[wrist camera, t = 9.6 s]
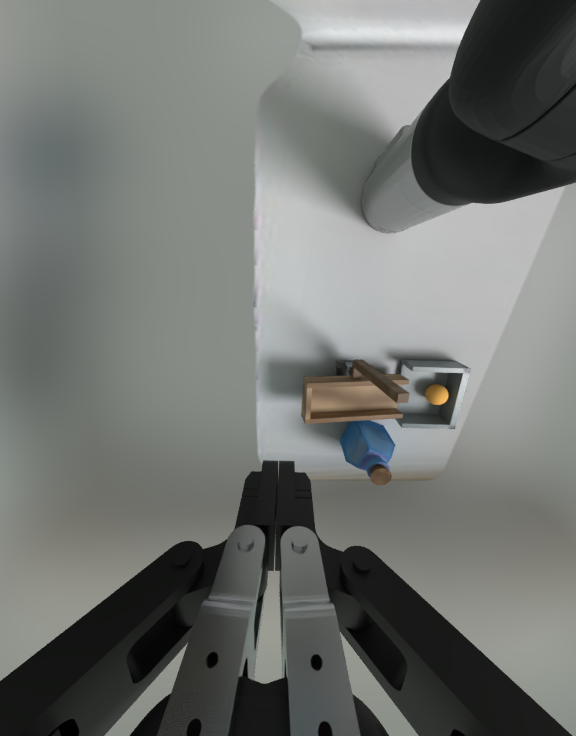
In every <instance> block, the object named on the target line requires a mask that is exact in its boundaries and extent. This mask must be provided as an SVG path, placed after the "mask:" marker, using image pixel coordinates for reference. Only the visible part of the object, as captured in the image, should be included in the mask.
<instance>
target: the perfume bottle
mask: <svg viewBox="0 0 576 736" xmlns="http://www.w3.org/2000/svg"><path fill="white" fill-rule="evenodd" d="M340 443H341V446H342V449H343V452H344V456H345V459H346V462H348V463H350V464H352V465H354V466H355V467H357V468H359V469H362V470H365V471H367V473H368V476H369V477H370V478H371V481H372V482H373V483H374V484H376V485H385V484H387V483H388V482H389V481H390V480H391V477H392V475H391V472H390V469H389V466H388V464H387V463H388V462H389V460H390V459H391V457H392V454H393V450H394V447H395V444H394V442H393V441H392V439H391V437H390V436H389V434H388V432H387V431H386V429H385V428H384V426H383V425H380V424H377V423H375V422H372V421H369V420H362V421H351V422H350V423H349V425H348V427H347V429H346V431H345V433H344V434H343V436H342V438H341V440H340Z"/></svg>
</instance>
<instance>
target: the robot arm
mask: <svg viewBox="0 0 576 736" xmlns="http://www.w3.org/2000/svg"><path fill="white" fill-rule="evenodd" d="M575 182H576V0H480V2H479V4H478V6H477V8H476V10H475V12H474V14H473V16H472V18H471V20H470V23H469V25H468V27H467V29H466V31H465V33H464V36H463V38H462V40H461V43H460V46H459V48H458V51H457V54H456V57H455V61H454V64H453V68H452V71H451V76H450V78H449V79H448V80H447V81H446V82H445V83H444V84H443V86H442V87H441V88H440V89H439V90H438V91H437V93H436V94H435V95H434V96H433V98H432V99H431V100H430V101H429V103H428V104H427V105H426V106H425V108H424V109H423V110H422V111H421V113H420V114H419V115H418V116H417V118H416V119H415V120H414V121H413V123H412V124H411V125H406V126H403V127H402V128H401V129H400V130H399V132H398V133H397V134H396V136H395V137H394V138H393V139H392V141H391V142H390V143H389V145H388V146H387V147H386V149H385V150H384V151H383V153H382V154H381V155H380V157H379V158H378V159H377V161H376V164H375V169H374V171H373V172H372V174H371V175H370V176H369V178H368V179H367V181H366V183H365V185H364V188H363V192H362V198H361V205H362V211H363V215H364V217H365V219H366V221H367V222H368V223H369V224H370V226H371V227H373V228H374V229H376V230H377V231H380V232H383V233H396V232H399V231H403V230H405V229H408V228H410V227H412V226H415V225H417V224H420V223H422V222H425V221H427V220H430V219H432V218H435V217H437V216H440V215H442V214H445V213H447V212H450V211H452V210H455V209H457V208H460V207H462V206H465V205H467V204H470V203H483V204H493V203H501V202H506V201H510V200H514V199H517V198H521V197H525V196H529V195H532V194H536V193H540V192H543V191H547V190H551V189H554V188H558V187H562V186H565V185H569V184H572V183H575ZM275 534H276V551H274V550H275ZM274 552H276V553H275V555H276V556H275V557H276V558H275V570H276V571H280V592H279V593H280V594H279V597H280V621H281V622H280V625H281V654H282V679H279V680H276V681H273V682H270V683H268V684H262V683H259V682H256V681H254V678H255V664H256V655H257V648H258V641H259V634H260V627H261V620H262V613H263V607H264V599H265V590H266V587H267V578H268V571H273V570H274ZM340 632H341V633H342V635H343V636H344V637H345V639H346V640H347V641H348V643H349V644H350V645H351V647H352V648H353V649H354V651H355V652H356V653H357V655H358V656H359V657H360V659H361V660H362V661H363V663H364V664H365V665H366V666H367V668H368V669H369V670H370V672H371V673H372V674H373V676H374V677H375V678H376V680H377V681H378V682H379V683H380V685H381V686H382V688H383V689H384V690H385V691H386V693H387V694H388V695H389V697H390V698H391V699H392V701H393V702H394V703H395V705H396V706H397V707H398V709H399V710H400V711H401V713H402V714H403V715H404V717H405V718H406V719H407V721H408V722H409V723H410V725H411V726H412V727H413V728H414V730H415V731H416V732H417V734H418V735H419V736H572V735H571V734H570V733H569V732H568V731H566V730H565V729H564V728H563V727H562V726H561V725H560V724H559V723H558V722H557V721H556V720H555V719H553V718H552V717H551V716H550V715H549V714H548V713H547V712H546V711H545V710H544V709H543V708H542V707H540V706H539V705H538V704H537V703H536V702H535V701H534V700H533V699H532V698H531V697H530V696H529V695H527V694H526V693H525V692H524V691H523V690H522V689H521V688H520V687H519V686H518V685H516V684H515V683H514V682H513V681H512V680H511V679H510V678H509V677H508V676H507V675H506V674H505V673H503V672H502V671H501V670H500V669H499V668H498V667H497V666H496V665H495V664H494V663H493V662H492V661H490V660H489V659H488V658H487V657H486V656H485V655H484V654H483V653H482V652H481V651H480V650H478V649H477V648H476V647H475V646H474V645H473V644H472V643H471V642H470V641H469V640H468V639H467V638H466V637H464V636H463V635H462V634H461V633H460V632H459V631H458V630H457V629H456V628H455V627H454V626H452V625H451V624H450V623H449V622H448V621H447V620H446V619H445V618H444V617H443V616H442V615H441V614H439V613H438V612H437V611H436V610H435V609H434V608H433V607H432V606H431V605H430V604H428V602H426V601H425V600H424V599H423V598H422V597H421V596H420V595H419V594H418V593H417V592H416V591H415V590H413V589H412V588H411V587H410V586H409V585H408V584H407V583H406V582H405V581H403V579H402V578H400V577H399V576H398V575H397V574H396V573H395V572H394V571H393V570H392V569H390V568H389V567H388V566H387V565H386V564H385V563H384V562H383V561H382V560H381V559H380V558H379V557H378V556H377V555H375V554H374V553H373V552H372V551H370V550H369V549H367V548H365V547H361V546H351V547H349V548H347V549H346V550H345V551H344V552H342V551H339V550H336V549H333V548H331V547H329V546H327V545H325V544H324V543H323V542H322V541H321V540H320V539H319V537H318V535H317V534H316V530H315V523H314V514H313V502H312V493H311V482H310V479H309V478H308V476H307V475H306V473H298V472H295V470H294V461H279V477H278V461H265V460H263V465H262V472H253V471H252V472H251V473H250V474H249V476H248V477H247V478H246V480H245V484H244V489H243V493H242V498H241V502H240V507H239V511H238V516H237V521H236V525H235V529H234V531H233V532H232V533H231V534H230V535H229V537H228V539H227V540H225V541H224V542H222V543H221V544H219V545H215V546H213V547H209V548H206V549H202V547H201V546H200V545H199V544H198V543H196V542H193V541H184V542H181V543H179V544H176V545H175V546H173V547H172V548H170V549H169V550H168V551H166V552H165V553H164V554H163V555H161V556H160V557H159V558H157V559H156V560H155V561H154V562H153V563H151V564H150V565H148V566H147V567H146V568H145V569H143V570H142V571H141V572H140V573H138V574H137V575H136V576H134V577H133V578H132V579H130V580H129V581H128V582H127V583H125V584H124V585H123V586H122V587H120V588H119V589H118V590H116V591H115V592H114V593H113V594H111V595H110V596H109V597H108V598H106V599H105V600H104V601H102V602H101V603H100V604H98V605H97V606H96V607H95V608H93V609H92V610H91V611H89V612H88V613H87V614H86V615H84V616H83V617H82V618H81V619H79V620H78V621H77V622H76V623H74V624H73V625H72V626H70V627H69V628H68V629H67V630H65V631H64V632H63V633H61V634H60V635H59V636H57V637H56V638H55V639H54V640H52V641H51V642H50V643H49V644H47V645H46V646H45V647H44V648H42V649H41V650H40V651H38V652H37V653H36V654H34V655H33V656H32V657H31V658H29V659H28V660H27V661H26V662H24V663H23V664H22V665H20V666H19V667H18V668H17V669H15V670H14V671H13V672H11V673H10V674H9V675H8V676H6V677H5V678H4V679H3V680H1V681H0V736H104V735H105V734H106V733H107V732H108V731H109V730H110V729H111V728H112V726H113V725H114V724H115V723H116V722H117V721H118V720H119V719H120V718H121V716H122V715H123V714H124V713H125V712H126V711H127V710H128V709H129V707H130V706H131V705H132V704H133V703H134V702H135V701H136V700H137V699H138V697H139V696H140V695H141V694H142V693H143V692H144V691H145V690H146V689H147V687H148V686H149V685H150V684H151V683H152V682H153V681H154V680H155V679H156V677H157V676H158V675H159V674H160V673H161V672H162V671H163V670H164V668H165V667H166V666H167V665H168V664H169V663H170V662H171V661H172V660H173V659H174V657H175V656H176V655H177V654H178V653H179V652H180V650H182V649H183V647H184V646H185V645H186V644H187V643H188V644H187V647H186V650H185V653H184V656H183V659H182V662H181V665H180V668H179V671H178V674H177V678H176V681H175V683H174V686H173V689H172V692H171V694H169V695H168V696H166V697H165V698H164V699H163V700H162V701H160V702H159V703H158V704H157V705H156V706H155V707H154V708H153V709H152V710H151V711H150V712H149V713H148V714H147V715H146V716H145V717H144V719H143V720H142V721H141V722H140V723H139V725H138V726H137V727H136V728H135V730H134V731H133V732H132V733H131V735H130V736H389V735H388V733H387V732H386V730H385V729H384V727H383V726H382V724H381V723H380V722H379V720H378V719H377V718H376V716H375V715H374V714H373V713H372V711H371V710H370V709H369V708H368V707H367V706H366V705H365V704H364V703H363V702H362V701H361V700H359V699H358V698H357V697H356V696H354V695H353V694H352V690H351V685H350V681H349V676H348V670H347V665H346V660H345V656H344V651H343V646H342V640H341V636H340Z"/></svg>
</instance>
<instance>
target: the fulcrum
mask: <svg viewBox="0 0 576 736" xmlns="http://www.w3.org/2000/svg"><path fill="white" fill-rule="evenodd" d="M352 364H353V361H336V371H335V376H350V375H351V373H352Z"/></svg>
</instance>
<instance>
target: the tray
mask: <svg viewBox="0 0 576 736" xmlns="http://www.w3.org/2000/svg"><path fill="white" fill-rule="evenodd" d="M469 373H470V368H468V367H467V366H465V365H463V364H461V363H459V362H457V361H434V360H402V361H401V366H400V372H399V374H401V375H402V376H404V377H406V378H407V379H409V384H407V385H401V387H402V388H403V389H404V390H406V391H407V392H409V393H410V395H409V400H408V403H398V404H397V409H398V410H399V411H400V412H401V413H403V417H402V418H395V419H396V421H397V422H398V423H399V425H400V426H401V427H402V428H433V429H455V426H456V423H457V419H458V415H459V411H460V407H461V404H462V400H463V396H464V392H465V388H466V385H467V381H468V377H469ZM434 384H439V385H442V386H444V387H445V388H446V389H447V391H448V394H449V396H448V399H447V401H446V402H445V403H443V404H441V405H434V404H432V403H430V402H429V401H428V400H427V399H426V397H425V392H426V389H427V388H428V387H429V386H431V385H434Z"/></svg>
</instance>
